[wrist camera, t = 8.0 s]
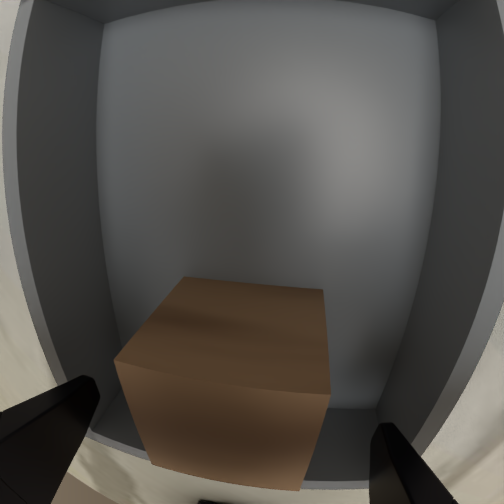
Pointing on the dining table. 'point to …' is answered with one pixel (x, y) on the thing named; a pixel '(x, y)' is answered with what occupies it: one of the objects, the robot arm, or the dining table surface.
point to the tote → (265, 188)
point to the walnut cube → (230, 381)
